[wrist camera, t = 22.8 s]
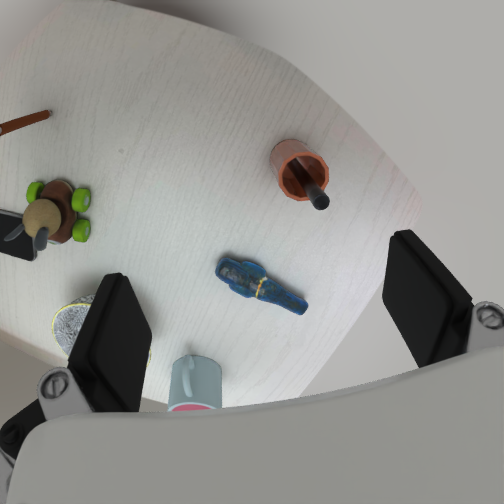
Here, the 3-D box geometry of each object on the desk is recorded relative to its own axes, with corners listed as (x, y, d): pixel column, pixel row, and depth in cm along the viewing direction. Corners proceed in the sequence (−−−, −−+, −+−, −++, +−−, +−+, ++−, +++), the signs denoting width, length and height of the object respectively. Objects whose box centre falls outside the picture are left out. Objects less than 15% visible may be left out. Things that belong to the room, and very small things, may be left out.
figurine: (308, 290, 48) (224, 244, 43) (318, 299, 44) (228, 251, 40) (292, 316, 48) (207, 273, 44) (300, 326, 45) (210, 282, 40)
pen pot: (267, 141, 35) (276, 154, 29) (310, 137, 35) (328, 150, 29) (271, 182, 38) (280, 203, 32) (312, 177, 38) (329, 198, 32)
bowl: (177, 314, 48) (172, 349, 41) (126, 357, 53) (119, 389, 46) (94, 253, 41) (75, 284, 35) (55, 309, 46) (39, 339, 39)
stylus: (285, 156, 36) (312, 195, 25) (297, 155, 36) (329, 193, 25) (286, 168, 37) (313, 211, 26) (298, 167, 37) (330, 209, 26)
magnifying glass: (51, 145, 32) (-53, 209, 15) (41, 144, 32) (-63, 206, 15) (60, 81, 28) (-55, 103, 11) (50, 80, 28) (-66, 103, 11)
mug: (223, 383, 58) (225, 426, 49) (177, 385, 57) (174, 427, 49) (215, 337, 51) (215, 385, 42) (161, 339, 50) (153, 386, 42)
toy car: (39, 230, 38) (0, 272, 29) (35, 174, 34) (-11, 207, 24) (91, 240, 40) (59, 287, 30) (91, 180, 36) (52, 217, 26)
